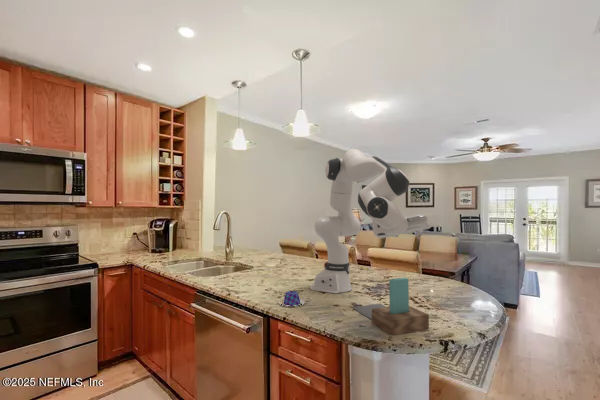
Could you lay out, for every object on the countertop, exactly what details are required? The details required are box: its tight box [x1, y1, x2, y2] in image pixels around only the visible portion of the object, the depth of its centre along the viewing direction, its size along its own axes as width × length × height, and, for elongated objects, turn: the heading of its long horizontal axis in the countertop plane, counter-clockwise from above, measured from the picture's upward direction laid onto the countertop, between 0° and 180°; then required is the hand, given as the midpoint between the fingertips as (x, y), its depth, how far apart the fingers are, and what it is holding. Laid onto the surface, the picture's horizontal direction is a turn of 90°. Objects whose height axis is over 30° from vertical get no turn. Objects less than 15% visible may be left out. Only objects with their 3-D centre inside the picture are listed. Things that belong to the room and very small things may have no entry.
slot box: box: [371, 305, 430, 336], centre depth 107 cm, size 16×12×5 cm
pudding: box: [278, 290, 305, 308], centre depth 133 cm, size 12×12×5 cm
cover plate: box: [388, 277, 410, 314], centre depth 107 cm, size 7×2×17 cm, turn 110°
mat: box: [352, 303, 387, 321], centre depth 121 cm, size 14×14×1 cm
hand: (408, 233), depth 114 cm, fingers open, 8 cm apart
